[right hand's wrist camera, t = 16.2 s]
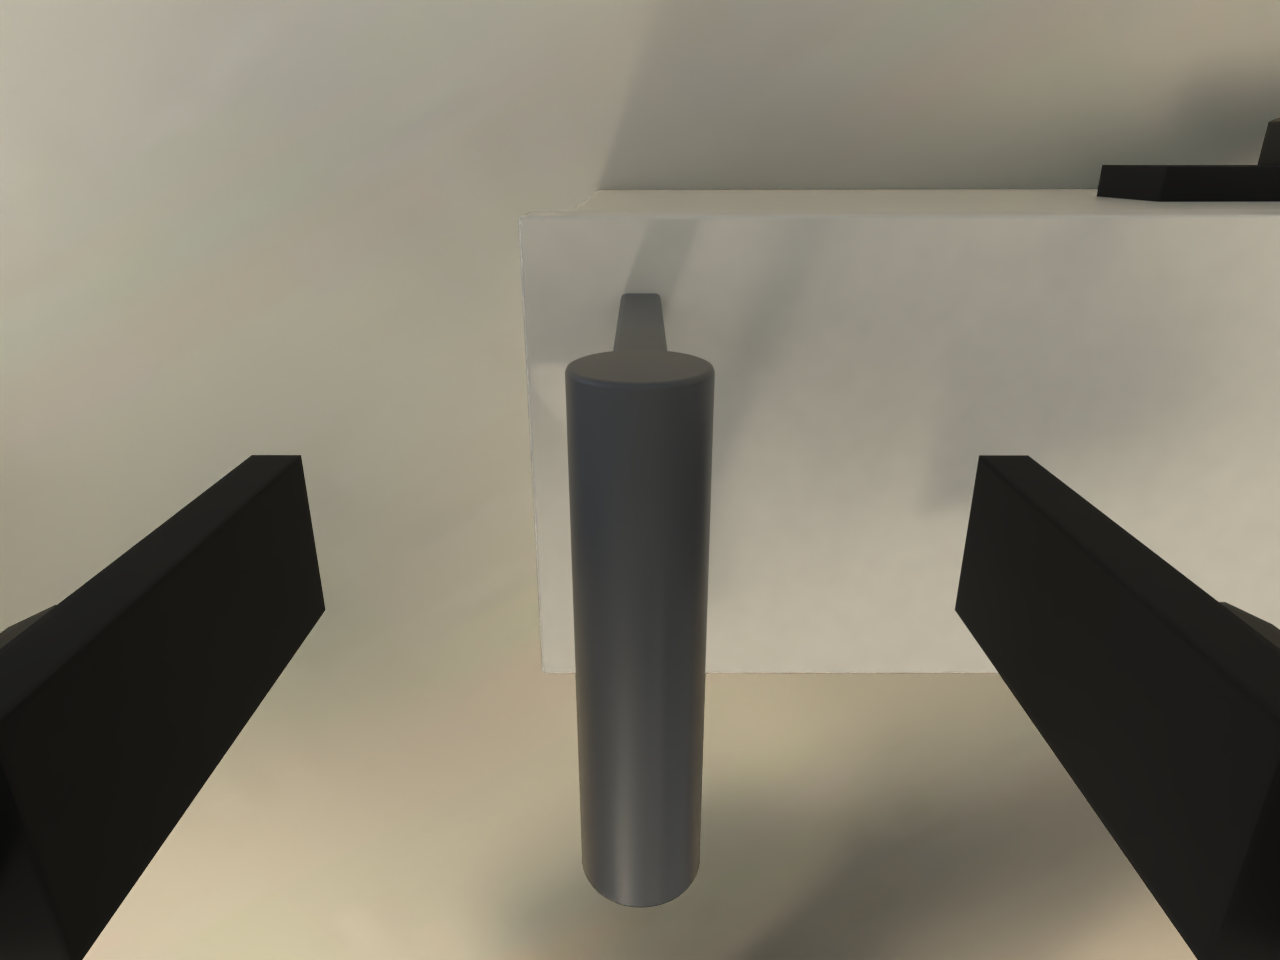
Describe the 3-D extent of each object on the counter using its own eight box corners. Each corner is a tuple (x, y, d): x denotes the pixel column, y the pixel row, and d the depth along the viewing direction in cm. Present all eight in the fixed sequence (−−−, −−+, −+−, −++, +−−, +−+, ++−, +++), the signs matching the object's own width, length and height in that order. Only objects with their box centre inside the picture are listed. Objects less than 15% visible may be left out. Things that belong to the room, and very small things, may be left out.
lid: (547, 643, 19) (484, 972, 11) (527, 211, 15) (415, 264, 8) (1343, 642, 19) (1822, 974, 11) (1498, 209, 15) (2338, 261, 8)
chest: (602, 472, 29) (581, 642, 19) (596, 189, 26) (566, 211, 15) (1096, 471, 29) (1341, 641, 19) (1156, 189, 25) (1494, 209, 15)
